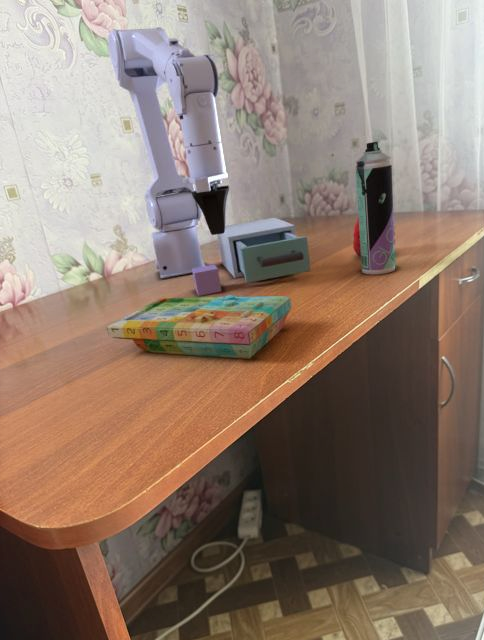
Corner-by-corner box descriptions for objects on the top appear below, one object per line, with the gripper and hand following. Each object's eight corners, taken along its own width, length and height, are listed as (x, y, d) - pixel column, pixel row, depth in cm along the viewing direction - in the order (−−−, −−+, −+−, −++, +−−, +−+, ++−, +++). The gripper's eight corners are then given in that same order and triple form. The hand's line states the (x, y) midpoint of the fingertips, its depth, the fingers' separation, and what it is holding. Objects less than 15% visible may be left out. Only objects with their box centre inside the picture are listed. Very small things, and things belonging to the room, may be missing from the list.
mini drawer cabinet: (299, 265, 95) (294, 225, 92) (234, 278, 92) (228, 237, 90) (279, 253, 108) (274, 217, 105) (222, 263, 106) (216, 227, 103)
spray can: (386, 275, 80) (381, 141, 73) (356, 273, 83) (347, 145, 76) (400, 266, 84) (396, 138, 76) (370, 265, 87) (364, 142, 80)
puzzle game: (247, 324, 53) (104, 320, 62) (253, 365, 54) (114, 355, 63) (289, 291, 62) (160, 291, 71) (293, 326, 64) (167, 322, 73)
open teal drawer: (318, 275, 82) (315, 240, 80) (251, 288, 80) (246, 253, 78) (288, 257, 98) (285, 227, 96) (232, 267, 97) (227, 237, 94)
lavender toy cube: (198, 296, 84) (194, 273, 83) (196, 290, 88) (191, 268, 86) (221, 291, 85) (217, 268, 83) (218, 286, 88) (214, 264, 87)
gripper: (186, 148, 84) (201, 229, 89) (167, 149, 71) (186, 245, 76) (227, 142, 83) (240, 224, 89) (216, 142, 70) (231, 239, 75)
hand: (218, 233), depth 82 cm, fingers closed
